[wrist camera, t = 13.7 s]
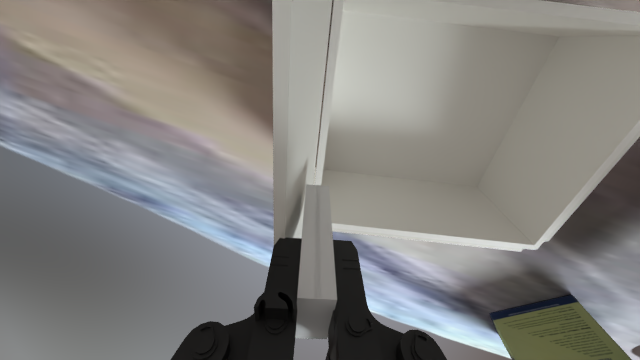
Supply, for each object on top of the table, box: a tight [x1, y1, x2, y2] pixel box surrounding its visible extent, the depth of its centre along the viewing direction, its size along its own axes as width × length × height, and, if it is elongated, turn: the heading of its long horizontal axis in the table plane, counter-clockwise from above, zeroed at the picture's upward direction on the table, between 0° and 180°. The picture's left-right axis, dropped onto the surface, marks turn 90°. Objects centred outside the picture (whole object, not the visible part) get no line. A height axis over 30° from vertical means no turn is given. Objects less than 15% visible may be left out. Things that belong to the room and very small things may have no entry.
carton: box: [315, 0, 640, 252], centre depth 24 cm, size 24×20×12 cm
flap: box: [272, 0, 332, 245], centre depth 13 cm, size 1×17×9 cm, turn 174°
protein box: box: [490, 295, 632, 360], centre depth 43 cm, size 10×16×16 cm
